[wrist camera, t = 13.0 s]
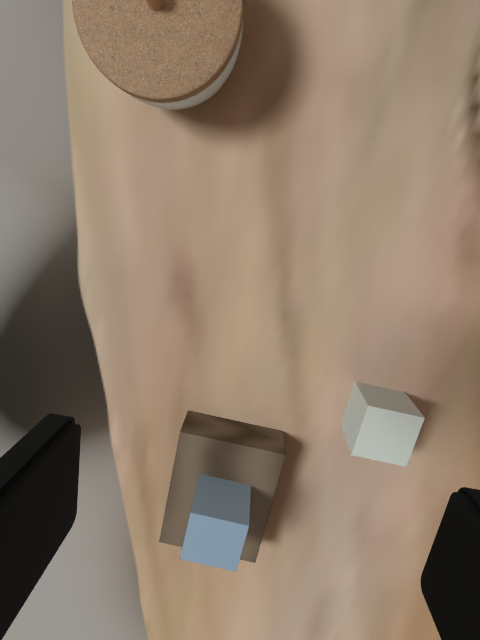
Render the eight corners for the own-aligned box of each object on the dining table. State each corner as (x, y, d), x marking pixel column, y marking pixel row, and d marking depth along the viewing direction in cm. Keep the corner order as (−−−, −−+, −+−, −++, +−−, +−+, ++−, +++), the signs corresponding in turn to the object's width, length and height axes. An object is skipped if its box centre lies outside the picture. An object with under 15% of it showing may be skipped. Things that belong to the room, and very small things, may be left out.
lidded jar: (113, -31, 30) (49, -135, 21) (251, -27, 30) (247, -130, 21) (117, 121, 33) (63, 88, 24) (244, 127, 33) (237, 95, 24)
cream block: (404, 391, 38) (424, 418, 33) (388, 435, 40) (406, 466, 35) (354, 381, 38) (368, 405, 33) (340, 425, 40) (351, 454, 35)
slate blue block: (250, 485, 37) (249, 526, 32) (239, 526, 39) (236, 571, 34) (199, 473, 37) (190, 512, 32) (190, 515, 39) (179, 558, 34)
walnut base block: (283, 431, 40) (285, 454, 36) (255, 531, 44) (255, 562, 40) (188, 410, 40) (180, 431, 36) (168, 512, 43) (159, 541, 40)
